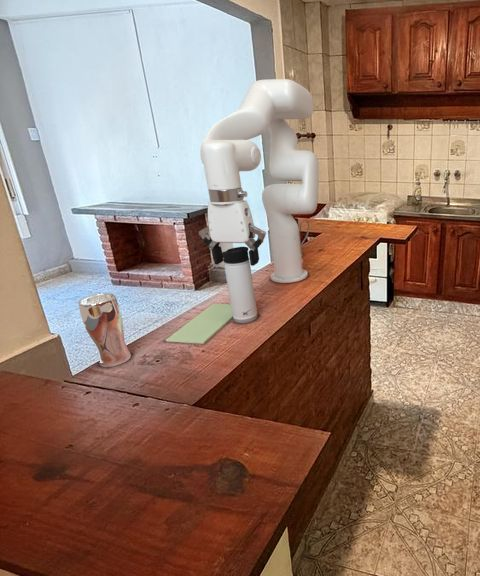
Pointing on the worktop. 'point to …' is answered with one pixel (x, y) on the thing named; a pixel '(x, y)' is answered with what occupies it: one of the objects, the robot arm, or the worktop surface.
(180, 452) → the worktop surface
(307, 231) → the glass holder
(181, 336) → the sage mat
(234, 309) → the travel mug
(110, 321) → the beer glass
